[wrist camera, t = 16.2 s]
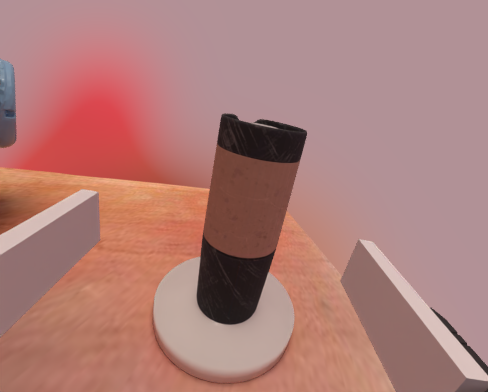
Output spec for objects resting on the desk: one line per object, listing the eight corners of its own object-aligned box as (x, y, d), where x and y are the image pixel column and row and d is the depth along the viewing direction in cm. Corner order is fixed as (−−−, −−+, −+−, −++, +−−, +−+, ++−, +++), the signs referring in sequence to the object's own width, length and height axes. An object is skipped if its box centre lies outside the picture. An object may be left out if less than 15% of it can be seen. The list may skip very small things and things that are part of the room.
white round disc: (137, 283, 30) (138, 270, 30) (242, 256, 40) (244, 246, 39) (184, 423, 19) (187, 408, 18) (318, 339, 28) (323, 326, 27)
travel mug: (245, 340, 24) (301, 135, 16) (179, 307, 26) (203, 112, 18) (267, 291, 30) (314, 130, 23) (213, 267, 33) (241, 113, 25)
